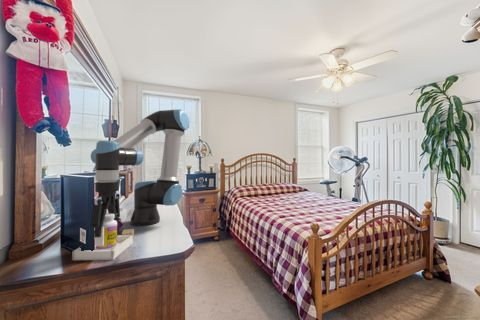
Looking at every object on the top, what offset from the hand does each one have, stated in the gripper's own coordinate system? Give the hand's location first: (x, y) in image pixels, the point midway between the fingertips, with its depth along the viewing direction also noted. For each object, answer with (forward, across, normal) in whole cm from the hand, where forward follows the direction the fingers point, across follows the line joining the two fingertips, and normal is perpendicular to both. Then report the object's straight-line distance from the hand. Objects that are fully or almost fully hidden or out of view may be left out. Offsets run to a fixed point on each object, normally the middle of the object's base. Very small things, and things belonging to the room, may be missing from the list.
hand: (106, 240), depth 80 cm
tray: (+4, 0, 0) cm, 4 cm away
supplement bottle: (+3, 0, 0) cm, 3 cm away
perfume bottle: (+4, -19, -8) cm, 21 cm away
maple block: (+4, -11, +3) cm, 12 cm away
